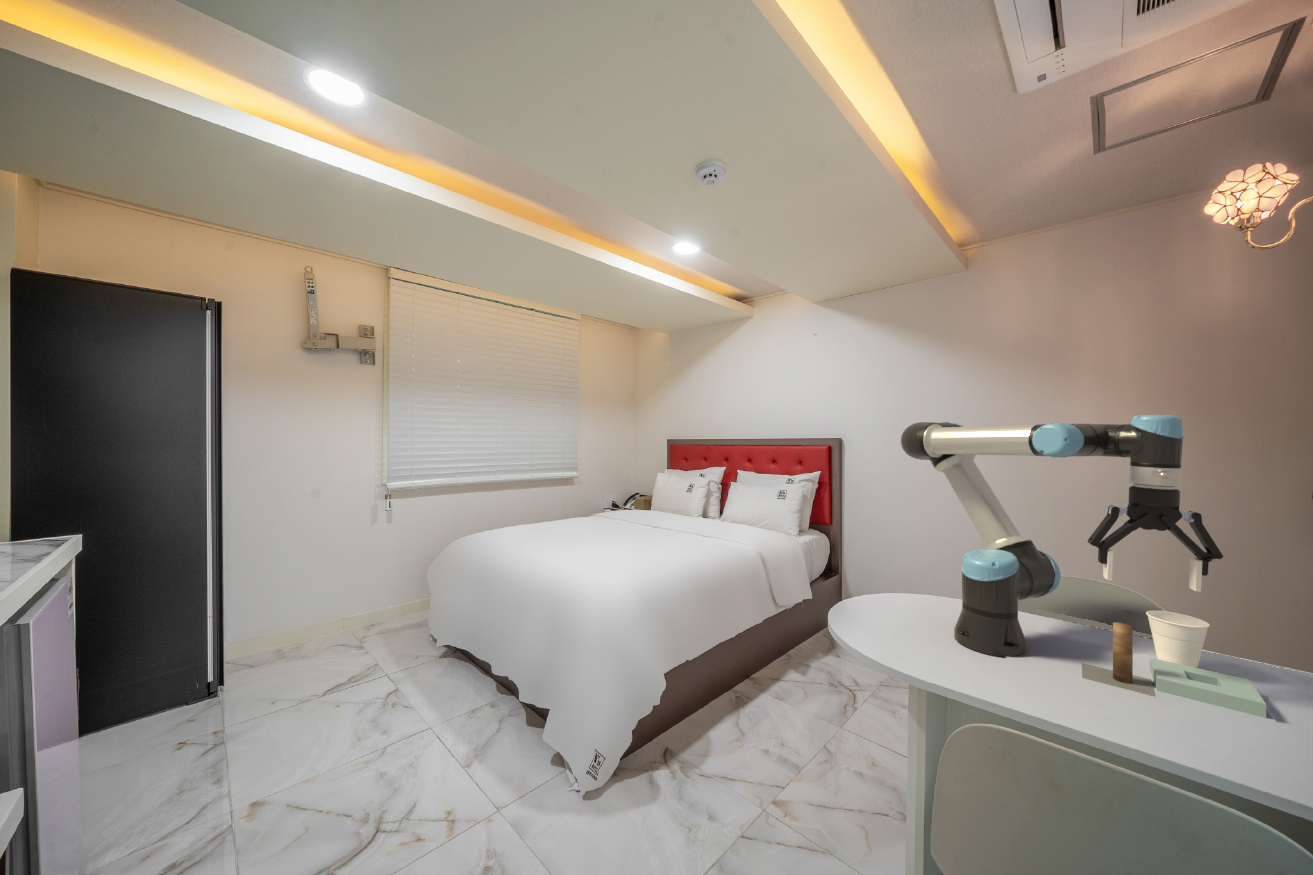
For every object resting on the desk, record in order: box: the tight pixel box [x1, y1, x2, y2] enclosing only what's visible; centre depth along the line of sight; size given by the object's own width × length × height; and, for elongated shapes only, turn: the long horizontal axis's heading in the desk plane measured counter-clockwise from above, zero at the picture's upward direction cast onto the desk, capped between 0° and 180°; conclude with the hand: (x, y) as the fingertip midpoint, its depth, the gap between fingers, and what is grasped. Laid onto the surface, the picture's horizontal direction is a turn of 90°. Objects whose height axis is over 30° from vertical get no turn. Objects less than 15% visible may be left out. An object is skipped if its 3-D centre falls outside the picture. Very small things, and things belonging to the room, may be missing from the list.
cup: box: [1145, 610, 1211, 668], centre depth 108 cm, size 10×10×11 cm
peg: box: [1112, 621, 1134, 684], centre depth 100 cm, size 3×3×12 cm
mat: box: [1081, 662, 1156, 698], centre depth 101 cm, size 11×9×1 cm
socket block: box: [1149, 657, 1267, 719], centre depth 96 cm, size 14×12×3 cm
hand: (1149, 584), depth 100 cm, fingers open, 13 cm apart
